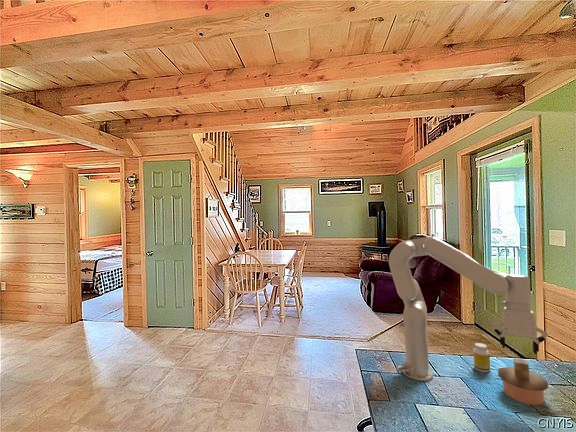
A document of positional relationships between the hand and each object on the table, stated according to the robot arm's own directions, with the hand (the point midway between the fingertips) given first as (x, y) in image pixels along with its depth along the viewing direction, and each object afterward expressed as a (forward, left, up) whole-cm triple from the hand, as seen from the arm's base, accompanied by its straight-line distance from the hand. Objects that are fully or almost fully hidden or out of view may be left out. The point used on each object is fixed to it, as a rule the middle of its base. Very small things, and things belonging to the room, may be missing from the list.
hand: (518, 349), depth 110 cm
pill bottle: (+2, +20, -18) cm, 26 cm away
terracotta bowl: (0, 0, -17) cm, 17 cm away
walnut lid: (0, 0, -11) cm, 11 cm away
